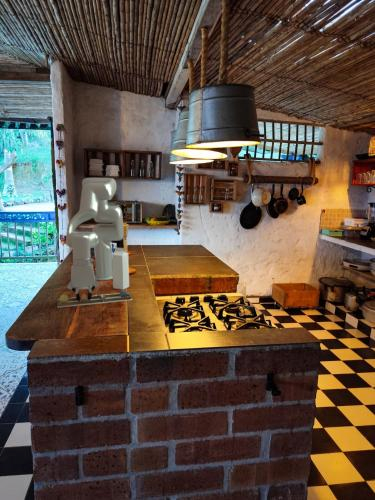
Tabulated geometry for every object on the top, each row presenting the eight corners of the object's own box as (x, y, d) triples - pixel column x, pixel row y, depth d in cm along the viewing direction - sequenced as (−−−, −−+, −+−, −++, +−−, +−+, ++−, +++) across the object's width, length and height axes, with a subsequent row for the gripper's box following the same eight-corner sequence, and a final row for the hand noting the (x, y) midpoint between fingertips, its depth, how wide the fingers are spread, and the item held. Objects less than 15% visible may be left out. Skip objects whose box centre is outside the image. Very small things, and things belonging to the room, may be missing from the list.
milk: (119, 287, 187) (118, 246, 183) (129, 288, 185) (128, 247, 181) (113, 290, 182) (111, 248, 178) (123, 291, 180) (122, 249, 176)
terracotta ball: (79, 300, 162) (78, 292, 161) (88, 299, 163) (87, 291, 163) (79, 303, 158) (79, 294, 158) (88, 302, 160) (88, 294, 159)
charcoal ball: (118, 296, 168) (118, 288, 167) (127, 296, 169) (127, 288, 168) (120, 299, 164) (119, 291, 163) (128, 298, 165) (128, 290, 165)
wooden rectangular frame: (103, 297, 167) (103, 295, 166) (129, 295, 171) (129, 292, 170) (104, 301, 161) (104, 299, 161) (131, 299, 165) (131, 296, 164)
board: (57, 301, 164) (57, 298, 164) (128, 294, 175) (128, 291, 175) (57, 310, 153) (57, 306, 153) (132, 302, 164) (132, 298, 163)
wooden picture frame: (57, 301, 160) (57, 299, 160) (101, 297, 166) (101, 295, 166) (57, 306, 154) (57, 303, 154) (103, 301, 161) (103, 299, 160)
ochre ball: (59, 302, 159) (59, 294, 159) (69, 301, 161) (68, 293, 160) (59, 305, 156) (59, 296, 155) (69, 304, 157) (68, 295, 156)
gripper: (100, 259, 164) (101, 296, 167) (62, 261, 158) (64, 300, 162) (101, 262, 157) (103, 301, 160) (62, 265, 151) (64, 305, 155)
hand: (84, 300), depth 161 cm, fingers closed on terracotta ball, 3 cm apart
